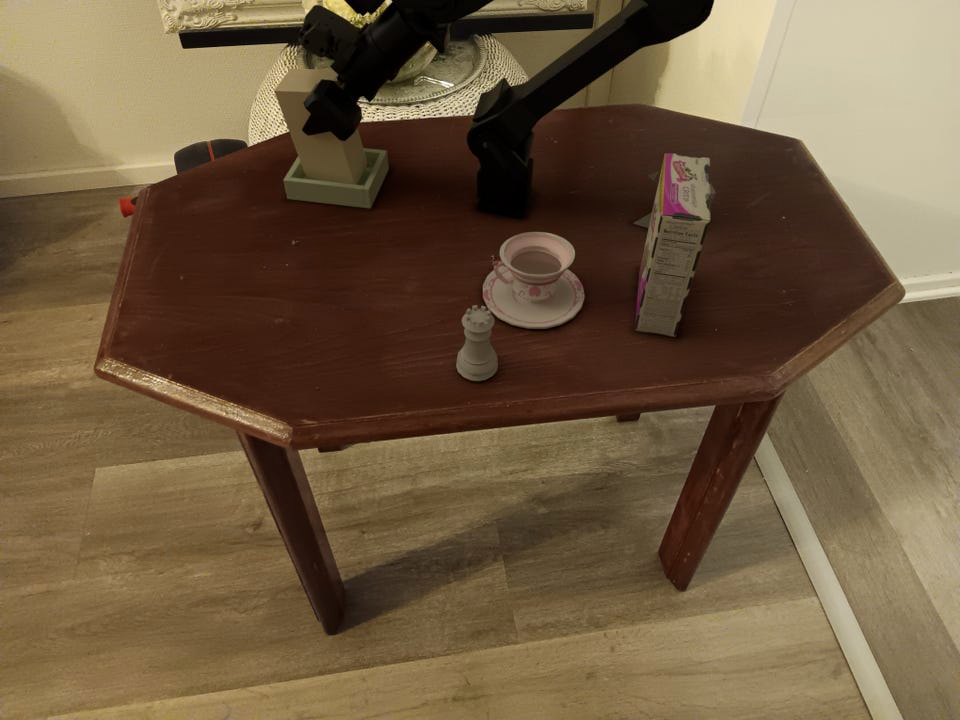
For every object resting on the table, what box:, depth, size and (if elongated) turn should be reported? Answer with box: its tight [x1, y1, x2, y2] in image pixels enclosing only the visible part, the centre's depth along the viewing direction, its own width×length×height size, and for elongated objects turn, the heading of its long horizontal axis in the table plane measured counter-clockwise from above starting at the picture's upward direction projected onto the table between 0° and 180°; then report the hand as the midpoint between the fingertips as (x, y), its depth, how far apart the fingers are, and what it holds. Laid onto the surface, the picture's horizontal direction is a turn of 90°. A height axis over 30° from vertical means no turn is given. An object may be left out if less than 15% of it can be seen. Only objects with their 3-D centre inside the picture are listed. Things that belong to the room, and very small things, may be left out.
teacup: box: [482, 231, 586, 330], centre depth 82 cm, size 12×12×6 cm
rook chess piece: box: [455, 304, 499, 382], centre depth 74 cm, size 4×4×8 cm
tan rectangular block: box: [273, 68, 368, 185], centre depth 94 cm, size 7×5×14 cm
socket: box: [283, 147, 390, 210], centre depth 98 cm, size 12×10×3 cm
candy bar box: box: [634, 152, 711, 338], centre depth 78 cm, size 11×5×16 cm, turn 168°
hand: (312, 120), depth 93 cm, fingers closed on tan rectangular block, 5 cm apart
